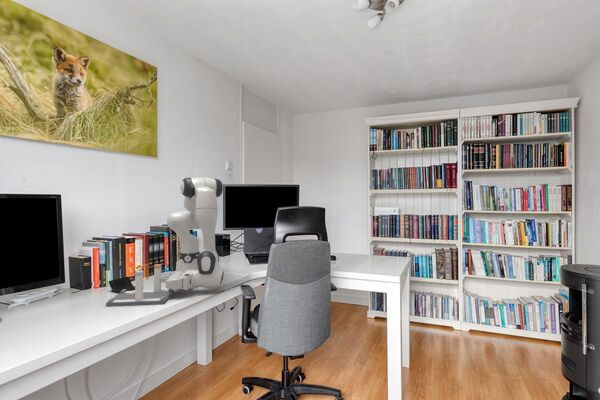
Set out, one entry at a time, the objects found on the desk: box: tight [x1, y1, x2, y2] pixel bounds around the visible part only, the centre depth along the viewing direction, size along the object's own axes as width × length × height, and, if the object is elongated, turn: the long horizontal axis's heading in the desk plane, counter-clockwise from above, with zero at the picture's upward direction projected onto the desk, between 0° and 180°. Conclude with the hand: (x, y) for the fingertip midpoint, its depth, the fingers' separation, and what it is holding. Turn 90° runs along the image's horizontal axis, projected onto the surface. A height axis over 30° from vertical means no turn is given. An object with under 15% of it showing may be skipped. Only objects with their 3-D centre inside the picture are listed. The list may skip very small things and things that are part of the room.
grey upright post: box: [153, 263, 162, 291], centre depth 156 cm, size 3×3×13 cm
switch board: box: [105, 289, 175, 308], centre depth 148 cm, size 18×24×2 cm
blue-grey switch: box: [134, 270, 145, 301], centre depth 142 cm, size 3×3×13 cm
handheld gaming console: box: [108, 276, 135, 295], centre depth 163 cm, size 12×7×10 cm
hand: (160, 279), depth 156 cm, fingers closed, pressing on grey upright post
